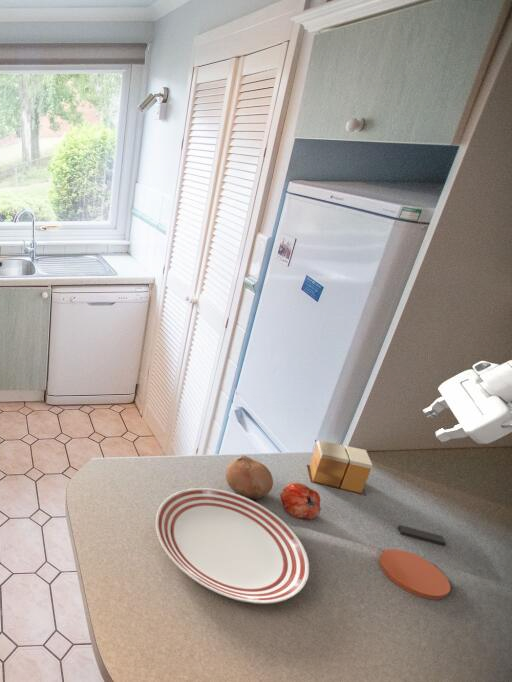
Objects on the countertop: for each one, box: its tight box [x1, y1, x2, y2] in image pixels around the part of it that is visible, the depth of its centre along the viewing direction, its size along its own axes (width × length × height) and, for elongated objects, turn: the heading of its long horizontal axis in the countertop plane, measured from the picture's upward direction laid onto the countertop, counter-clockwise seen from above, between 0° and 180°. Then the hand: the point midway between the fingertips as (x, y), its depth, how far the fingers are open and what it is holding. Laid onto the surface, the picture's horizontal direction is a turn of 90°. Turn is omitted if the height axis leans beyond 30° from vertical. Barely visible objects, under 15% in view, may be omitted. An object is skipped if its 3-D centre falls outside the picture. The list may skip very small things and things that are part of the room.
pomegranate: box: [279, 482, 322, 520], centre depth 98 cm, size 7×7×10 cm
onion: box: [225, 454, 274, 501], centre depth 103 cm, size 10×9×10 cm
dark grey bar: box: [397, 524, 447, 547], centre depth 95 cm, size 20×2×2 cm, turn 65°
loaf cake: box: [306, 439, 368, 497], centre depth 106 cm, size 11×7×9 cm, turn 65°
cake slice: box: [340, 445, 373, 493], centre depth 105 cm, size 4×6×8 cm, turn 155°
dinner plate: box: [155, 487, 310, 605], centre depth 90 cm, size 28×27×3 cm
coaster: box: [378, 548, 451, 600], centre depth 85 cm, size 10×10×1 cm
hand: (431, 425), depth 95 cm, fingers open, 8 cm apart
